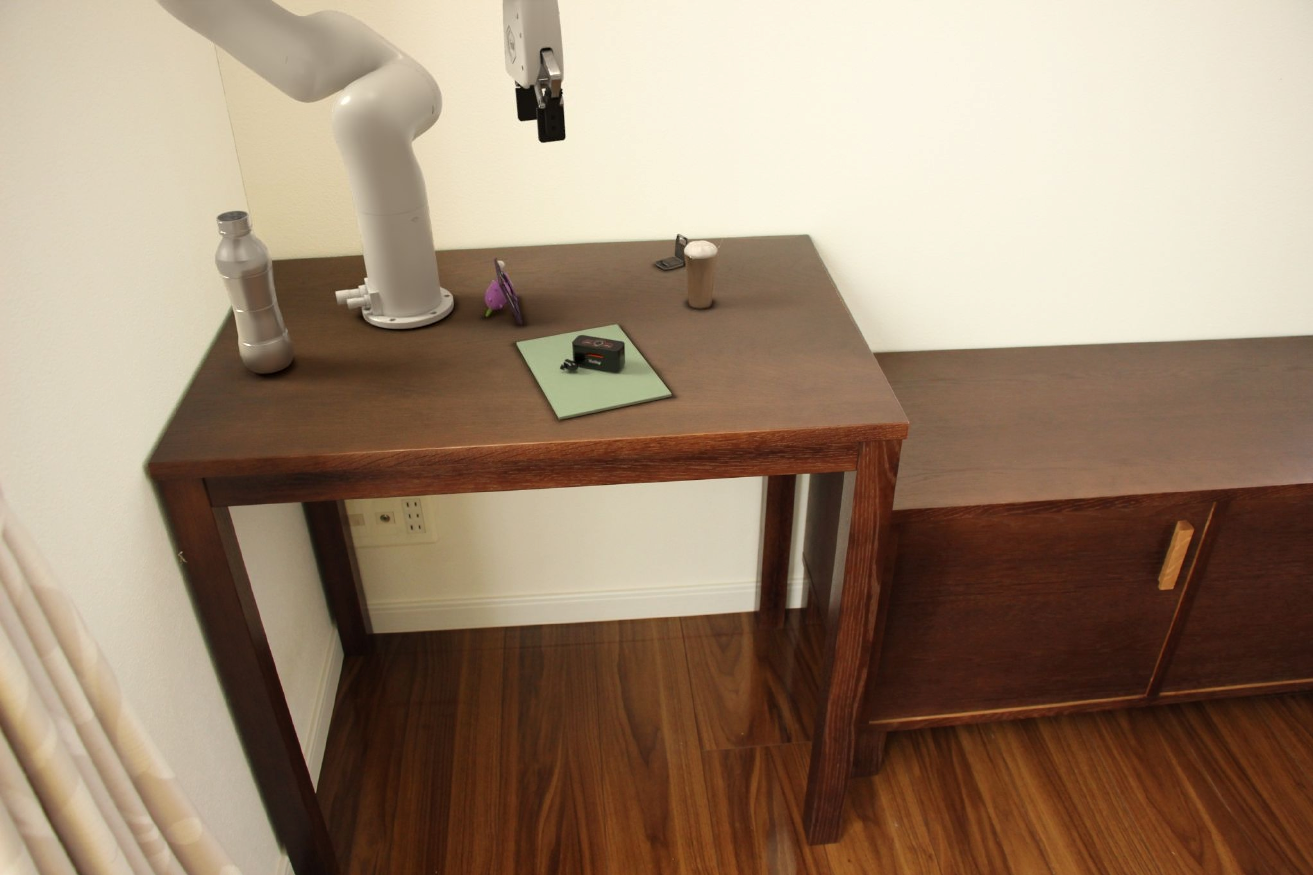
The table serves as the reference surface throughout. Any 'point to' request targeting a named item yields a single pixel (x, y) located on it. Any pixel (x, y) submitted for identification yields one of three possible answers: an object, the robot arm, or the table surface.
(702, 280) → the milkshake
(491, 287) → the purple creature toy frame
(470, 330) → the table surface
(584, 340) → the wireless earbuds
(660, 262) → the strap clip
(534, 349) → the desk mat
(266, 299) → the plastic bottle
